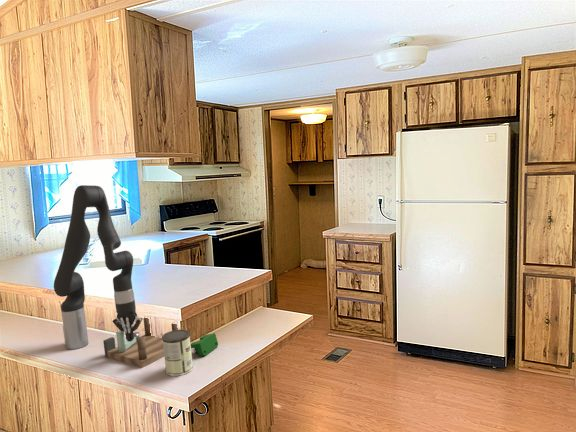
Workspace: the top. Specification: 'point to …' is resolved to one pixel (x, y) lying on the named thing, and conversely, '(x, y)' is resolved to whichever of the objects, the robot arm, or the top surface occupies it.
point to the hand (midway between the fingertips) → (130, 340)
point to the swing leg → (121, 341)
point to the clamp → (205, 344)
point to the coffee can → (177, 352)
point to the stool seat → (138, 348)
